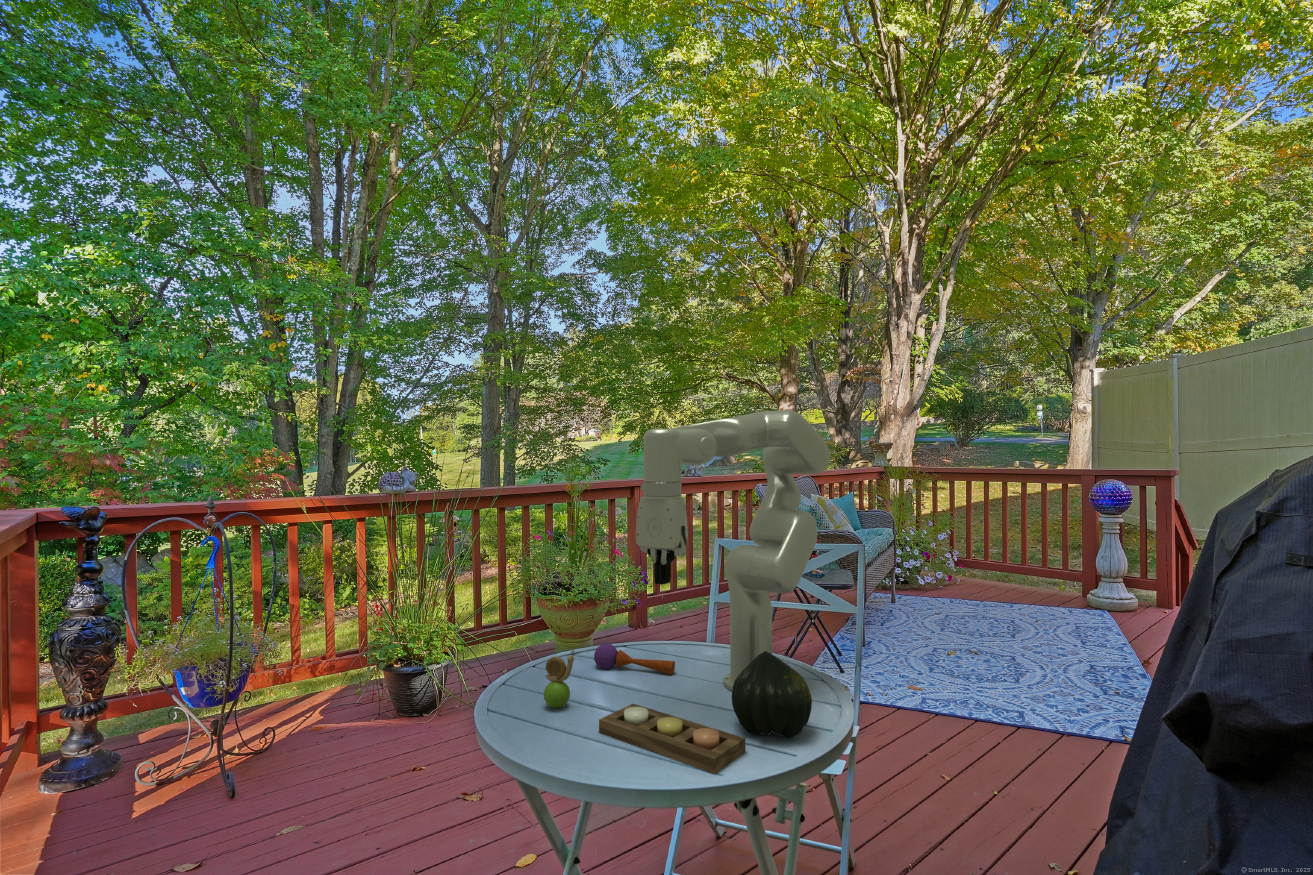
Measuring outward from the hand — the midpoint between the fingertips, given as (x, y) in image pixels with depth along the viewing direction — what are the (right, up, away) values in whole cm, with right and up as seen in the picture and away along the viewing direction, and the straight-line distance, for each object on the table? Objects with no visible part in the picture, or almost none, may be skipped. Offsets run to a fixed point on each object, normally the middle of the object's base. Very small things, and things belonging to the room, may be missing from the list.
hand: (662, 582), depth 131 cm
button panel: (+1, -27, -10) cm, 29 cm away
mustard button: (+1, -25, -10) cm, 27 cm away
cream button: (-5, -25, -5) cm, 26 cm away
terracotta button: (+7, -25, -15) cm, 30 cm away
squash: (+20, -27, -5) cm, 35 cm away
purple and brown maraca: (-7, -28, +29) cm, 41 cm away
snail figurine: (-22, -28, +6) cm, 35 cm away
